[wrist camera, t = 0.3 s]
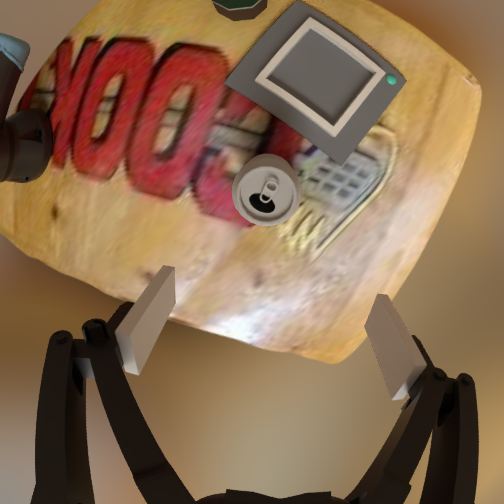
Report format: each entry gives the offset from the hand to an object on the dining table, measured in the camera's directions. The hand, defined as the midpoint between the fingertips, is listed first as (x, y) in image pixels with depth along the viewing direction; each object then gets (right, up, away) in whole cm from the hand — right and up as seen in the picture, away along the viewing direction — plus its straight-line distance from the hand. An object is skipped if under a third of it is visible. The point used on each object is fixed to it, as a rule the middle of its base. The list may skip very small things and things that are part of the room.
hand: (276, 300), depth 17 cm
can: (+1, +13, +21) cm, 25 cm away
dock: (+8, +27, +14) cm, 32 cm away
